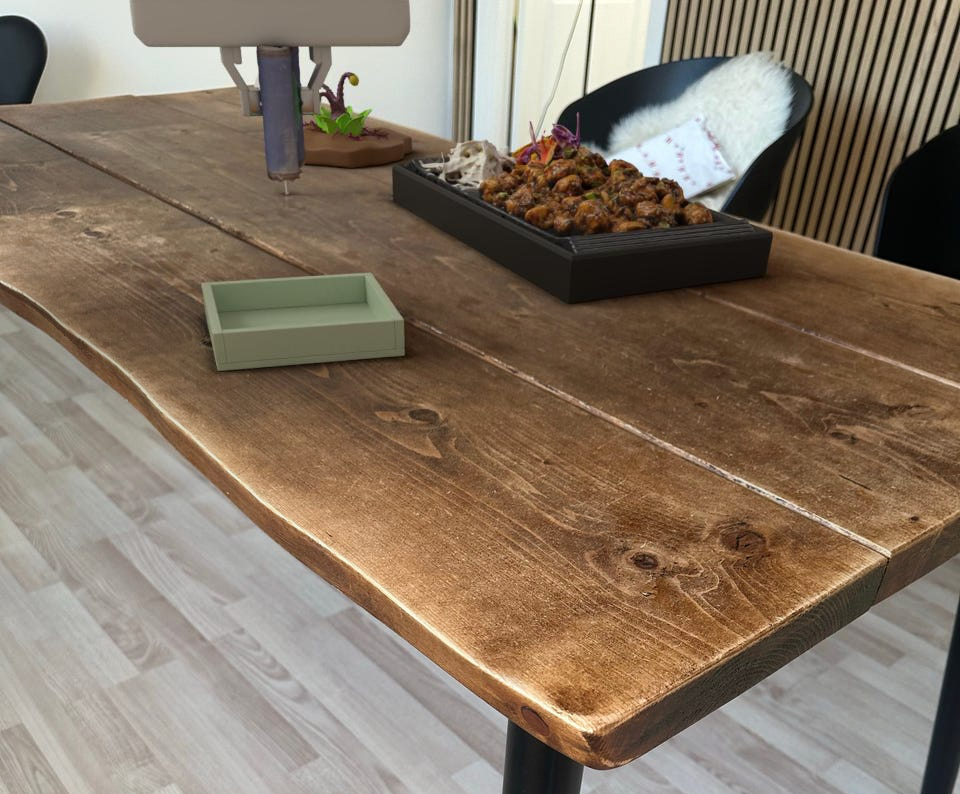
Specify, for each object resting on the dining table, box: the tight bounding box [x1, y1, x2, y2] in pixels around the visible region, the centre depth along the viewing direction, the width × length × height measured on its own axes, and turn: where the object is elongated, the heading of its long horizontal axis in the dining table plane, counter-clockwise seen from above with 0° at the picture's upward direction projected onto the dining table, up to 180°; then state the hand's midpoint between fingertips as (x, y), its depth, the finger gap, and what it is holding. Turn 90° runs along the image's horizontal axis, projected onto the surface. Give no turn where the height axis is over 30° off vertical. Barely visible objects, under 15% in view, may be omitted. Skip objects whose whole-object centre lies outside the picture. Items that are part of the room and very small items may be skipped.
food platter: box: [391, 111, 774, 304], centre depth 112 cm, size 45×25×10 cm, turn 26°
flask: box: [255, 45, 306, 183], centre depth 75 cm, size 9×3×11 cm, turn 4°
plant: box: [303, 71, 413, 169], centre depth 146 cm, size 20×20×11 cm
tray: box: [200, 272, 406, 372], centre depth 84 cm, size 16×14×3 cm
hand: (281, 114), depth 75 cm, fingers closed on flask, 3 cm apart
